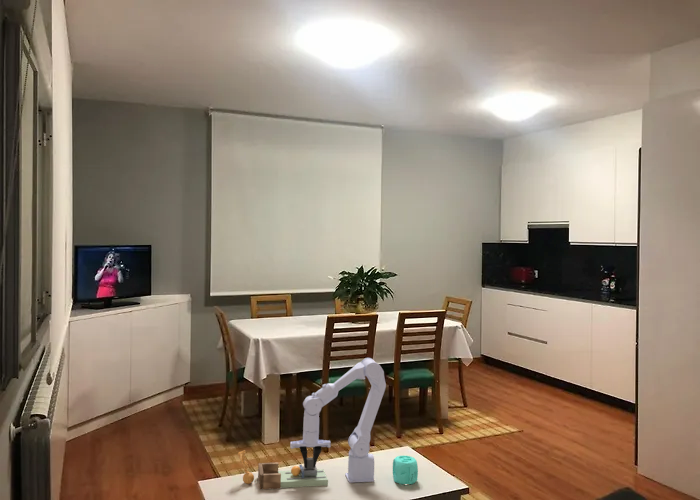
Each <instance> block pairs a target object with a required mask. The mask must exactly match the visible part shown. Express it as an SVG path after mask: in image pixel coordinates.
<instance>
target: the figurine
mask: <svg viewBox="0 0 700 500" xmlns="http://www.w3.org/2000/svg"><path fill="white" fill-rule="evenodd" d="M245 454H246V450H245V449H244V450H242V451H238V453H237V457H238V458H239V460H240V463H241V464H242V467H243V471H244V472H245V473H244V474H243V476H242V481H243V483H244V484H246V485H251V484H252V483H253V482H254V480H255V476H254V473H252V472H250V471H249V470H248V468H249V463H248V461H246V460H248V459H247V457H246V455H245Z"/></svg>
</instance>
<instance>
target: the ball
mask: <svg viewBox="0 0 700 500" xmlns="http://www.w3.org/2000/svg"><path fill="white" fill-rule="evenodd" d="M290 471H291V473H292V475H293V476H298V475H299V474H300V472H301V469H300V467H299V465H293V466H292V467H291V469H290Z"/></svg>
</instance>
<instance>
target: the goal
mask: <svg viewBox="0 0 700 500" xmlns="http://www.w3.org/2000/svg"><path fill="white" fill-rule="evenodd" d="M257 470H258V474H257V478H258V487H259V490H260V491H261V490H280V489H281V488H280V487H281V473H278V471H279V462H277V461H276V462H258V469H257Z"/></svg>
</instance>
